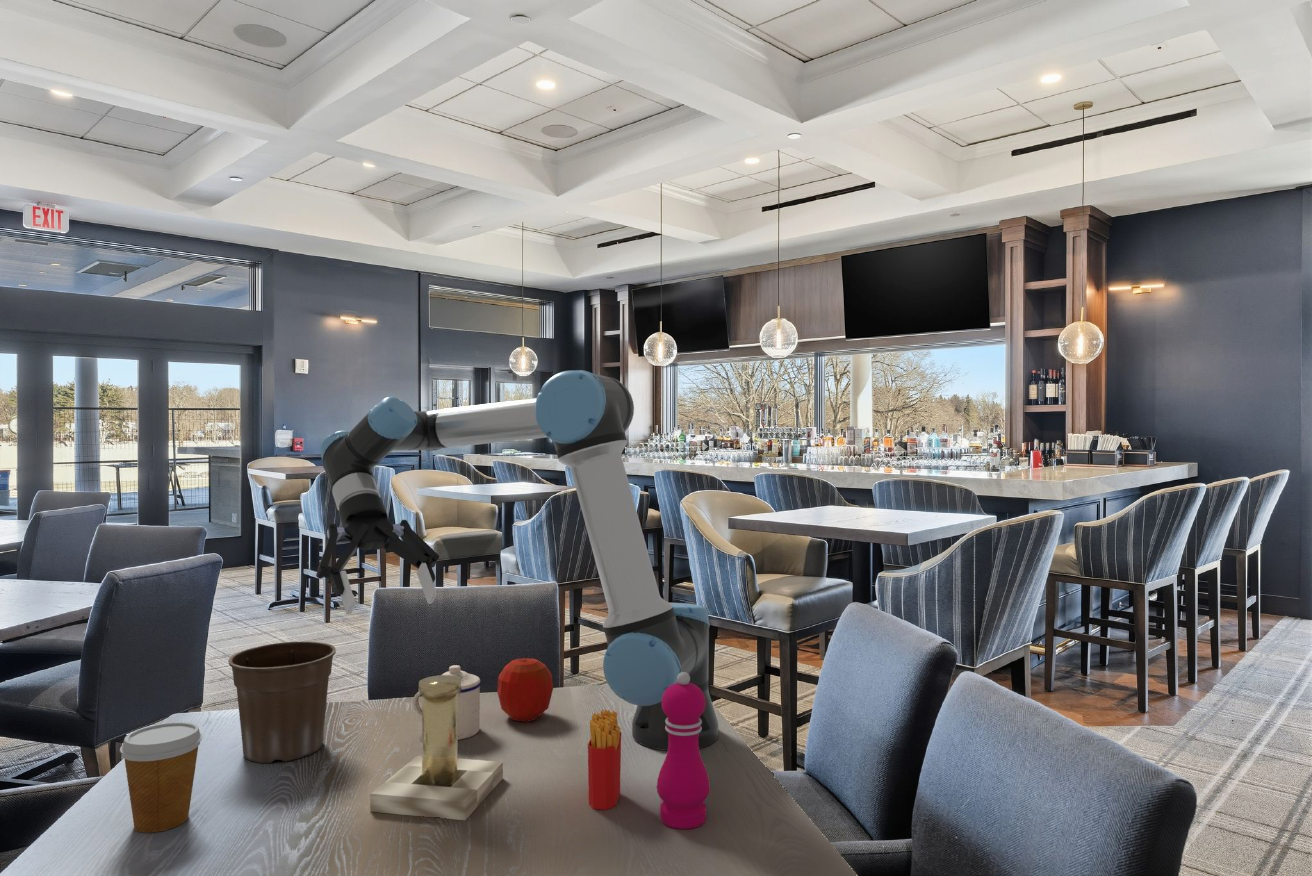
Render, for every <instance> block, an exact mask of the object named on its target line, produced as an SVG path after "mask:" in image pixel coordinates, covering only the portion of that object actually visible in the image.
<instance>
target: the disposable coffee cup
mask: <svg viewBox="0 0 1312 876" xmlns="http://www.w3.org/2000/svg"><path fill="white" fill-rule="evenodd" d="M199 728H200V727H199V726H198V724H195V723H193V722H186V721H179V722H178V721H174V722H173V721H171V722H164V723H158V724H153V725H148V726H144V727H142V728H139V729H136V730H134V731H132V732H130V733H129V734H127V735H126V736H125V737H124V739H123V743H122V745H121V746H120V748H119V753H120V754H122V758H123V759H124V765H125V771H126V780H127V781H126V782H127V785H128V786H127V787H128V791H129V801H130V805H131V806H130V807H131V815H132V820H133V829H134V830H135V831H136V832H139V833H144V834H145V833H148V834H149V833H158V832H165V831H167V830H171V829H173V828H176V827H179V826H180V825H182V824H183V823H185V822H186V821H187V820H188V819H189V816H190V815H189V814H190V809H191V808H190V807H191V800H192V793H193V786H194V779H195V774H196V773H195V772H196V764H197V758H198V750H199V746H200V744H201V741H202V739H203V733H201V732H200V731H201V730H200V729H199Z"/></svg>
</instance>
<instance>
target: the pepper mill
mask: <svg viewBox="0 0 1312 876" xmlns="http://www.w3.org/2000/svg"><path fill="white" fill-rule="evenodd" d="M677 681H678V683H675V684H672V685H671V686H669V687H668V688H667V689H666V690H665V692H664V694H663V697H662V709H663V711H664V713H665V714H666V715H667V718H666V720H665V723H666V726H665V730H666V731H667V732H668V736H669V743H668V750H666V751H667V752H666V756H665V758H664V761H663V763H662V766H661V768H660V770H659V773H658V777H657V782H656V792H657V794H658V796H659V798H660V799H661V800H662V802H661V804H660V807H659V808H660V810H659V811H660V815H659V816H660V818H659V819H660V821H661V822H662V823H663V824H664V825H665V826H667V827H670V828H674V829H679V830H680V829H681V830H690V829H695V828H698V827H700V826H702V825H703V824H704V823H705V822H706V819H707V805H706V804H705V801H706V799H707V798H708V796H709V795H710V791H711V788H710V786H711V785H710V779H709V774H708V771H707V769H706V766H705V764H704V761H703V758H702V756H701V751H700V748H699V744H698V736H699V732H701V730H702V727H701V723H702V720H701V719H700V718H699V717H700V716H701V715H702V714H703V712H704V710H705V705H706V703H705V696H704V694H703V692H702V690H701V689H700V688H699V687H698V686H696V685H694V684H691V683H689V682H690V676H689V674H688V673H686V672H681V673H679V675H678V677H677Z"/></svg>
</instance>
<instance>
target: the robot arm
mask: <svg viewBox="0 0 1312 876" xmlns="http://www.w3.org/2000/svg"><path fill="white" fill-rule="evenodd" d="M536 396H537V397H533V398H524V399H516V400H507V401H501V402H500V401H499V402H493V403H491V402H489V403H482V404H475V405H466V406H458V407H451V408H443V409H433V410H424V411H422V410H421V411H419V410H418V411H417V410H415V411H414V409H413V408H412V407H411V406H410V405H409V404H408V403H407V402H405V401H404V400H403V399H399V398H398V397H395V396H387V397H385V398H383V399H381V401H380V402H378V403H377V404H376V405H374V406H373V407H372V408H371V409H370V410H369V412H368V413H366V415H365V416H364V417H362V419H361V420H360V421H359V422H358V423H357V424H356V425H355V426H354V427H353V428H352V429H351V430H338V431H335V432H334V433H333V434H329V435H328V436H325V438H324V439H323V441H322V442H321V444H320V446H319V451H320V452H319V453H320V456H321V465H322V467H323V469H324V472H325V475H326V477H327V480H328V483H329V486H330V490H331V493H332V496H333V500H334V503H335V506H336V508H337V511H338V516H339V518H340V521H341V525H342V527H339V526H337V524H335V523H331V524H329V526H328V528H327V531H326V533H325V539H326V544H325V547H324V550H323V554H322V557H321V559H320V562H319V566H318V567H317V570H316V574H315V577H316V578H317V579H323V578H326V579H327V583H328V584H331V587H332V590H333V593H334V594H335V596H340V597H341V601H342V604H343V608H344V612H345V614H346V615H352V613H353V610H354V609H355V606H356V601H355V596H354V594H353V590H352V587H351V584H350V581H349V577H348V573H347V571H346V570H343V569H344V568H345V567H346V566H347V565H348V563H349V561H350V560H351V559H352V557H353V555H355V553H356V552H357V551H358V549H360V550H362V551H363V552H364V551H370V550H382V549H384V550H385V551H387V552H392V553H393V554H395V555H397V556H398V557H400V558H401V559H402V560H404V561H405V562H407V563H408V564H410V565H412V566H413V567H415V568H417V572H416V575H417V578H418V580H419V583H420V586H421V588H422V591H423V594H424V597H425V599H426V602H427V604H428V605H429V604H433V603H434V601H435V599H436V598H437V595H438V592H437V589H436V587H435V580H436V575H435V572H434V569H433V568H434V567H436V564H437V563H438V560H439V558H440V555H439V554H438V553H437V552H436V551H435V550H434V549H433V548H432V547H431V546H430V545H429V544H428V543H427V542H425V540H423V538H422V537H420V536H419V535H418V533H416V531H415V530H414V529H412V527H411V524H410V523H409V521H408V520H407V519H402V520H401V521H400V523H395V524H394V523H391V522H390V519H389V517H388V513H387V510H386V507H385V504H384V501H383V499H382V496H381V493H380V490H379V488H378V485H377V482H376V479H375V476H374V473H373V469H374V467H376V466H377V465H379V464H380V463H381V462H382V460H384V459H385V458H386V456H388V455H389V454H390V453H391V452H392V451H427V452H428V451H429V452H431V451H438V450H442V449H447V448H454V447H455V448H456V447H465V446H467V447H468V446H475V445H485V444H496V443H503V442H504V443H505V442H507V443H508V442H514V441H525V440H536V439H544V438H548V439H549V440H550V441H552V443H553V445H554V449H555V453H556V456H557V460H558V462H559V463H561V464H563V465H565V466H566V467H568V468H569V469H570V471H571V475H572V479H573V482H574V487H575V491H576V494H577V498H578V502H579V505H580V508H581V513H582V516H583V520H584V523H585V526H586V527H585V528H586V532H587V535H588V538H589V539H588V540H589V543H590V546H591V547H590V548H591V550H592V554H593V557H594V561H595V562H594V563H595V564H596V568H597V572H598V576H599V579H600V584H601V587H602V591H603V594H604V599H605V602H606V606H607V610H608V614H607V616H606V618H605V619H604V621H603V624H602V628H603V631H604V636H605V640H606V644H607V648H606V650H605V654H604V656H603V661H602V668H603V676H604V678H605V680H606V682H607V683H606V684H607V685H608V687H609V688H610V689H611V690H612V692H613V693H614V694H615V695H616V696H617V697H618V698H620V699H622V700H624V702H627V703H629V704H631V705H633V706H636V709H635V711H634V715H633V719H632V722H631V723H632V724H631V735H632V738H633V740H634V741H635V742H637V743H639V744H640V745H642V746H645V747H648V748H652V749H657V750H663V751H668V743H669V736H668V732H667V731H666V730H665V726H666V723H665V720H666V718H667V715H666V714H665V713H664V711H663V709H662V697H663V694H664V692H665V690H666V689H667V688H668V687H669V686H671V685H672V684H675V683H678V681H677V677H678V675H679V673H681V672H686V673H688V674H689V676H690V682H689V683H691V684H694V685H696V686H698V687H699V688H700V689H701V690H702V692H703V694H704V696H705V703H706V705H705V710H704V712H703V714H702V715H701V716H700V717H699V718H700V719H701V720H702V723H701V727H702V730H701V732H699V736H698V744H699V749H700V748H704V747H707V746H709V745H710V746H711V744H713V743H715V742H716V741H717V740H718V739H719V722H718V718H717V714H716V712H715V708H714V705H713V703H712V698H711V695H710V692H709V665H710V664H709V658H710V657H709V656H710V655H709V652H710V651H709V646H710V645H709V644H710V642H709V641H710V640H709V639H710V638H709V637H710V631H709V630H710V620H709V612H708V609H707V608H706V607H705V606H703V605H701V604H695V603H694V604H693V603H684V602H668V601H667V600H665V599H664V598H662V597H661V595H660V591H659V587H658V584H657V580H656V577H655V574H654V570H653V565H652V562H651V559H650V556H649V555H650V554H649V552H648V548H647V543H646V540H645V537H644V533H643V530H642V526H641V522H640V519H639V515H638V512H637V511H638V510H637V507H636V504H635V500H634V496H633V494H632V489H631V486H630V482H629V479H628V475H627V471H626V469H625V468H626V467H625V463H624V461H623V457H622V453H623V451H624V449H625V447H626V446H627V444H628V441H627V436H626V433H625V432H627V430H628V429H629V427H630V426H631V425H632V421H633V419H634V413H635V407H634V405H635V404H634V400H633V397H632V394H631V393H630V391H629V389H628V388H627V387H626V386H625V385H624V383H622V382H620V381H619V380H618V379H616V378H614V377H610V376H607V375H601V374H596V373H592V372H590V371H586V370H584V369H583V370H582V369H580V370H579V369H576V370H564V371H561V372H558V373H556V374H554V375H553V376H552V377H550V378H549V379H548V380H547V381H545V382H544V384H543V385H542V387H541V389H540V390H539V392H538V394H537V395H536ZM342 536H343V537H344V538H345V539H346V540H347V541H349V543H348V545H347V546H346V548H345V549H344V550H343V551H342V553H341V555H340V556H339V557H338V559H336V561H335V563H334V564H333V566H331V565H329V564H330V561H331V558H332V556H333V555H332V554H333V552H334V548H335V546H336V542H338V541H339V540H340V539H341V537H342ZM389 540H390V542H389Z"/></svg>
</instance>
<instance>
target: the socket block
mask: <svg viewBox="0 0 1312 876" xmlns="http://www.w3.org/2000/svg"><path fill="white" fill-rule="evenodd" d="M503 779H504V762H503V761H495V760H482V759H469V758H458V763H457V781H456V782H455V783H454V784H453V785H452V786H451V787H441V786H429V785H422V755H416V756H415V757H414V758H412V759H411V760H410V761H409V762H408V763H406V764H405V765H404V766H402V767H401V768H400V769H399V770H398V771H396V772H395V773H394V774H392V776H390V777H389V778H388V779H387V780H386V781H384V782H383V783H382V784H380V785H379V786H377V788H375V789H374V790H373V791H372V792H370V795H369V796H370V799H369V801H370V803H369V806H370V810H369V811H370V812H371V813H379V814H383V813H384V814H391V815H392V814H393V815H401V816H402V815H403V816H413V817H414V816H415V817H423V816H424V817H427V818H434V817H440V818H439V819H445V818H446V819H448V820H455V821H456V820H458V821H467V819H468V818H469V817H470V815H472V814H473V812H475V810H476V809H477V808H478V807H479V806H480V805H481V803H483V801H484V800H485V799H486V798H487V797H488V796H489V795H490V793H491V792H492V791H493V790H494V789H495V788H496V787H497V786H498V784H499V783H500V782H501V781H502V780H503ZM424 817H423V818H424Z"/></svg>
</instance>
